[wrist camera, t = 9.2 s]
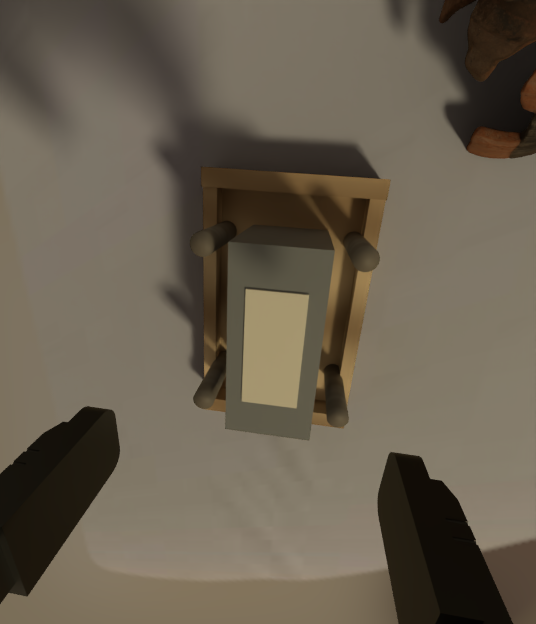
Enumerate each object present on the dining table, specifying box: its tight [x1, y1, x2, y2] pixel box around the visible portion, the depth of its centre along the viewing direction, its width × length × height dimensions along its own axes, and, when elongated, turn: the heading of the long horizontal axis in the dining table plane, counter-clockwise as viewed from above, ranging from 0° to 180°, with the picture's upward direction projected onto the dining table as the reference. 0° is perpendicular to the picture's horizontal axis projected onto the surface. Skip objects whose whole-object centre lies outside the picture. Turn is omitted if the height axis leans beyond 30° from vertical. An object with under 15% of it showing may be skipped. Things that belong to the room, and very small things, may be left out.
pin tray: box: [190, 167, 391, 428], centre depth 20 cm, size 16×10×6 cm, turn 176°
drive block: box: [225, 225, 335, 440], centre depth 19 cm, size 10×4×7 cm, turn 177°
